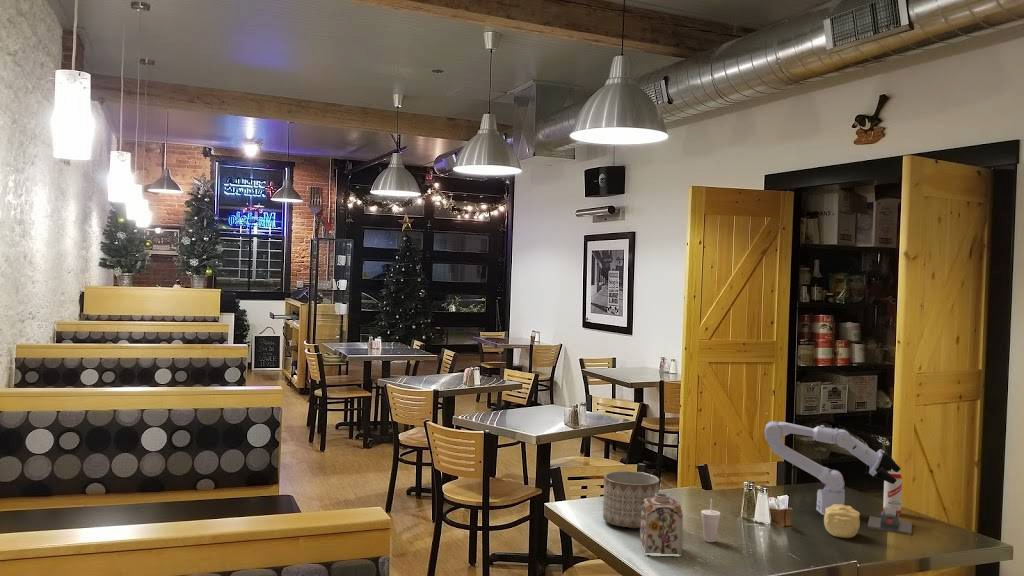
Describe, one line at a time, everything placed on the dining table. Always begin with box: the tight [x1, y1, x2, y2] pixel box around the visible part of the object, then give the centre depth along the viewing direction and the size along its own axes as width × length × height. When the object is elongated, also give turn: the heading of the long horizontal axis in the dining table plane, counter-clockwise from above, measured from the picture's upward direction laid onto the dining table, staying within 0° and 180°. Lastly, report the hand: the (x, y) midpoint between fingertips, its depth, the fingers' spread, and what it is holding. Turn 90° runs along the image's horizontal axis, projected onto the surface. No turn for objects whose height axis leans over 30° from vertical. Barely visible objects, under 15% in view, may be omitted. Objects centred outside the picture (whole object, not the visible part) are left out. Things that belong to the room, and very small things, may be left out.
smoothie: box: [700, 498, 721, 541], centre depth 256 cm, size 6×6×14 cm
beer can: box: [882, 470, 903, 515], centre depth 295 cm, size 6×6×16 cm
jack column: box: [884, 505, 896, 517], centre depth 279 cm, size 4×4×7 cm
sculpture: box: [823, 504, 861, 539], centre depth 267 cm, size 11×12×11 cm
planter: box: [602, 470, 660, 529], centre depth 272 cm, size 19×19×16 cm
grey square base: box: [867, 510, 913, 536], centre depth 279 cm, size 14×14×4 cm
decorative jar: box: [639, 492, 684, 555], centre depth 245 cm, size 12×12×18 cm
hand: (896, 476), depth 286 cm, fingers open, 7 cm apart
